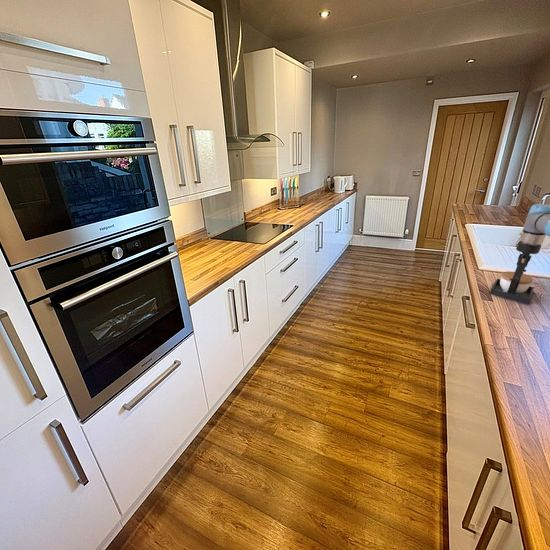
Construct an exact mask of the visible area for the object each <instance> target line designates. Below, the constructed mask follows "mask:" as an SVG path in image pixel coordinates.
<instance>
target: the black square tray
mask: <svg viewBox="0 0 550 550" xmlns="http://www.w3.org/2000/svg"><path fill="white" fill-rule="evenodd" d="M500 279H501V278H496V280H495V281H494V283H493V284H492V287H491V289H490V290H489V294H490V295H493V296H496V297H501V298H504V299H508V300H511V301H515V302H519V303H523V304H526V305H529V303H530V301H531V298H532V295H533V292H534V290H535V287H534V286H531V285H530V286H529V288H528V289H527V290H526V291H525V292H524V293H521V294H519V295H515V294H511V293H507V292H504V291H503V289H502V288H501V286H500Z"/></svg>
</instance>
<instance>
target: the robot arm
mask: <svg viewBox="0 0 550 550" xmlns="http://www.w3.org/2000/svg"><path fill="white" fill-rule="evenodd" d="M519 236H520V237H519V241H518V242H517V245H516V248H515V249H516V251H517V252H519V255H518V257H517V262H516V268H515V270H514V272H515V273H514V276H513V278H510V280H511V283H510V286H509V289H508V291H507V293H511V294H515V293H516V290H517V287H518V285H519V282H520V278H521V276H522V274H525V273H526V272H527V269H526V268H527V267H528V264H529V262H531V258H532V255H537V254H539V253H540V251H541V248H542V244H543V243H544V241H545V238H546V236H547V237H549V238H550V204H546V203H535V204H533V205H532V206H531V207H530V209H529V211H528V213H527V216H526V219H525V222H524V224H523V228H522V232H520V233H519ZM517 278H518V279H517Z"/></svg>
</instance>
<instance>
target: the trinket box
mask: <svg viewBox="0 0 550 550" xmlns="http://www.w3.org/2000/svg"><path fill="white" fill-rule="evenodd" d="M514 273H515V271H502V273H501V275H500V278H499V279H500V286H501V288H502V289H503V291H504V292H507V291H508V289H509V286H510V283H511V280H510V278H513V276H514ZM517 279H518V278H517ZM532 283H533V278H532V277H531V276H529V275H527V274H525V273H523V274H522V276H521V278H520V282H519V285H518V287H517V290H516V293H515V295H519V294H521V293H524V292H525V291H526V290H527V289H528V288H529V286H530V287H531V285H532Z"/></svg>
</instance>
